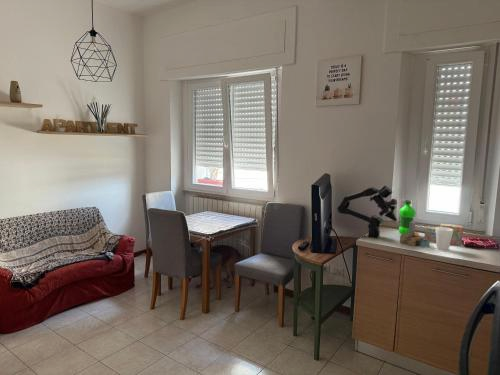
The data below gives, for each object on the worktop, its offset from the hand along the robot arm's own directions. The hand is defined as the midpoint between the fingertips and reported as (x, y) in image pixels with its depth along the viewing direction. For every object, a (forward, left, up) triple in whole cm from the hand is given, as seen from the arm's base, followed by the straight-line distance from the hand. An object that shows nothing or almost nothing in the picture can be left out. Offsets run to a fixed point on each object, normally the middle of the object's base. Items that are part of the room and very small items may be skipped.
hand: (396, 220), depth 231 cm
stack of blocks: (+25, +18, -14) cm, 34 cm away
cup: (+18, 0, -14) cm, 23 cm away
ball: (+13, 0, -7) cm, 15 cm away
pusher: (+10, 0, -8) cm, 13 cm away
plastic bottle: (+2, +19, -14) cm, 24 cm away
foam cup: (+29, 0, -14) cm, 32 cm away
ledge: (+11, 0, -14) cm, 17 cm away
